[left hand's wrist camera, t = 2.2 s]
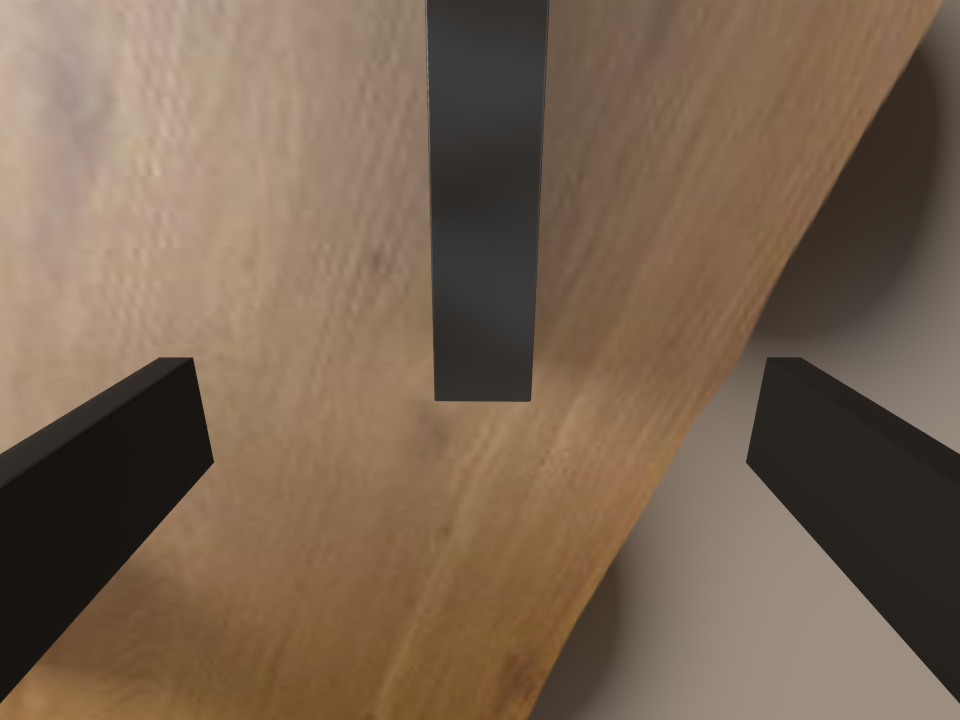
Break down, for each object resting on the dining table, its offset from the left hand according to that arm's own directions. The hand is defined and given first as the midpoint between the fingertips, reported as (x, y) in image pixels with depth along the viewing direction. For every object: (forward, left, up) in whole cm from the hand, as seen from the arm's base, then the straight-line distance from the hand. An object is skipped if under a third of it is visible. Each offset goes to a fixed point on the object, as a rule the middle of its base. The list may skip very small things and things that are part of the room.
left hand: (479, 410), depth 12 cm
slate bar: (+8, +4, -17) cm, 19 cm away
